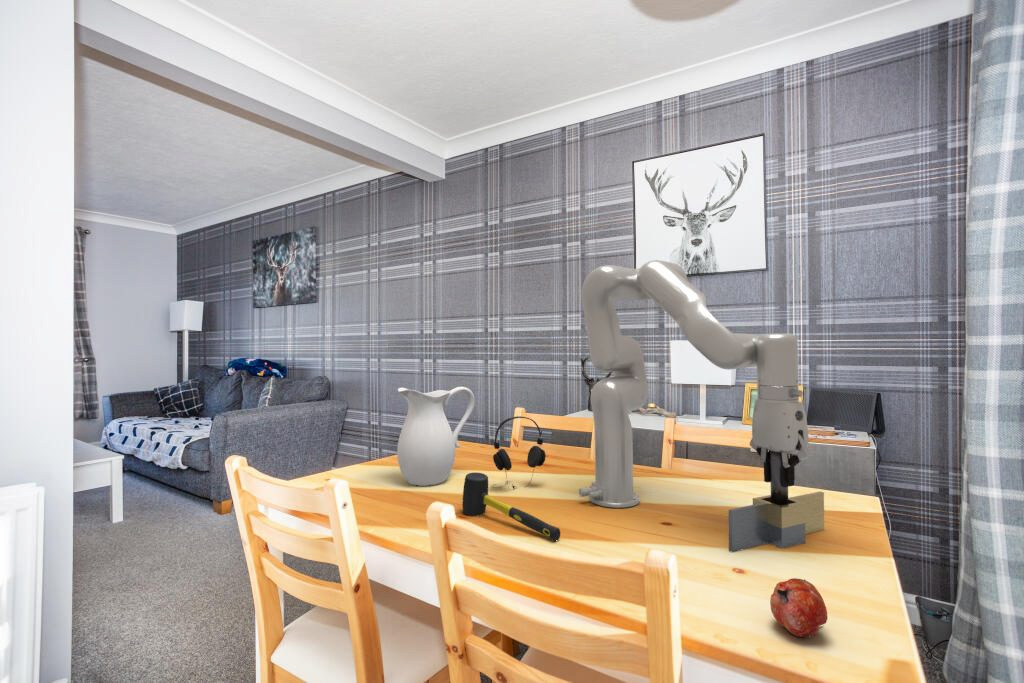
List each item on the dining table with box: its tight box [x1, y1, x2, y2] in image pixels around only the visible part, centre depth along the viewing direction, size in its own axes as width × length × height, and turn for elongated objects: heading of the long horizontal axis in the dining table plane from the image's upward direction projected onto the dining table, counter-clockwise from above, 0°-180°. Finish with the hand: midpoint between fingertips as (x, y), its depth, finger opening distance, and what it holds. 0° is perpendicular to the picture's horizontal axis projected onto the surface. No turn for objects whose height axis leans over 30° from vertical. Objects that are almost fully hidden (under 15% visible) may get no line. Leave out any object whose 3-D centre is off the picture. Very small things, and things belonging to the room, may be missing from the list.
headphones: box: [492, 415, 547, 491], centre depth 146 cm, size 15×11×20 cm
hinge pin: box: [767, 446, 789, 506], centre depth 106 cm, size 4×4×12 cm
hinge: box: [728, 491, 825, 553], centre depth 106 cm, size 27×7×8 cm, turn 114°
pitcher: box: [396, 386, 476, 487], centre depth 155 cm, size 24×17×28 cm
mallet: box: [462, 472, 561, 542], centre depth 117 cm, size 29×6×10 cm, turn 45°
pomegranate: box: [769, 577, 828, 638], centre depth 73 cm, size 7×7×10 cm
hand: (779, 482), depth 106 cm, fingers closed on hinge pin, 3 cm apart
